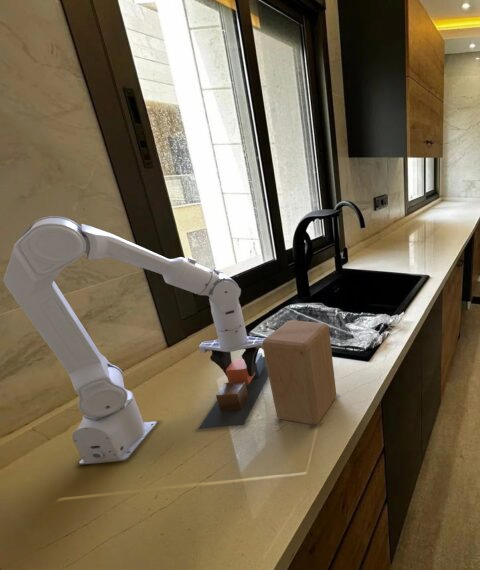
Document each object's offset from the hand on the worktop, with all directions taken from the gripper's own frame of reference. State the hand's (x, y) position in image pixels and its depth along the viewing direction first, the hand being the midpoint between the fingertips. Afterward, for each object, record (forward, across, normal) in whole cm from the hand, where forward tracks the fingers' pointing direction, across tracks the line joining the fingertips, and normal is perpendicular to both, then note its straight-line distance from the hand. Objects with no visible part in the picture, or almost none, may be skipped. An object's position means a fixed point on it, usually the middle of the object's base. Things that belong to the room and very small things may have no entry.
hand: (241, 374), depth 79 cm
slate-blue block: (+4, 0, -6) cm, 7 cm away
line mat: (+4, 0, 0) cm, 4 cm away
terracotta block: (+1, 0, 0) cm, 1 cm away
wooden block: (+4, -17, +9) cm, 20 cm away
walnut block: (+4, 0, +6) cm, 7 cm away
